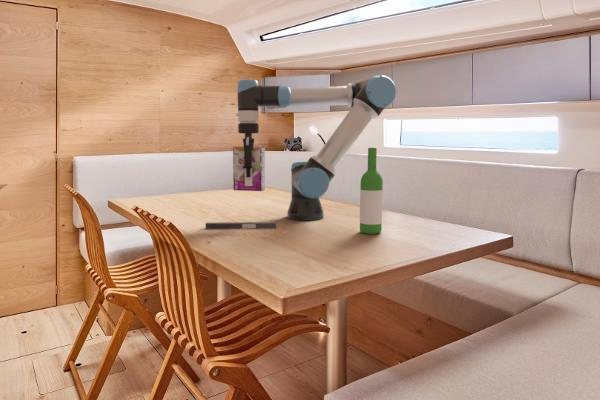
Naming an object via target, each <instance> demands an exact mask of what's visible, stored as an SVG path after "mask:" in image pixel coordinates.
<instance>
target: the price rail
mask: <svg viewBox="0 0 600 400" xmlns="http://www.w3.org/2000/svg"><path fill="white" fill-rule="evenodd" d="M223 229H224V230H225V229H226V230H233V229H235V230H237V229H240V230H243V229H249V230H250V229H251V230H252V229H253V230H254V229H277V222H276V221H254V222H252V221H251V222H250V221H249V222H248V221H247V222H246V221H240V222H239V221H238V222H236V221H235V222H233V221H231V222H228V221H227V222H220V221H219V222H218V221H217V222H205V230H223Z"/></svg>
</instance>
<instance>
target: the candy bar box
mask: <svg viewBox="0 0 600 400" xmlns="http://www.w3.org/2000/svg"><path fill="white" fill-rule="evenodd" d="M232 148H233V150H232V157H233V158H232V160H233V161H232V162H233V163H232V164H233V165H232V166H233V167H232V170H233V171H232V173H233V177H232V178H233V191H244V192H245V191H246V192H247V191H248V192H250V191H251V192H263V191H265V190H266V179H265V177H266V175H265V174H266V171H265V170H266V169H265V167H266V166H265V165H266V164H265V163H266V161H265V159H266V157H265V156H266V152H265V151H266V149H265V148H266V147H264V146H254V147H253V149H252V186H245V168H243V166H244V146H233V147H232Z"/></svg>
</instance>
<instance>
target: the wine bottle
mask: <svg viewBox="0 0 600 400" xmlns="http://www.w3.org/2000/svg"><path fill="white" fill-rule="evenodd" d="M377 154H378V153H377V147H368V148H367V170H366V171H365V172H364V173H363V175H362V176H361V179H360V189H359V192H360V194H359V195H360V197H359V198H360V199H359V231H360V232H361V233H362V234H365V233H366V234H367V235H377V233H378V234H380V233H381V232H382V227H383V226H382V225H383V224H382V222H383V221H382V219H383V184H384V183H383V177H382V175H381V174H380V173H379V172H378V171H377Z"/></svg>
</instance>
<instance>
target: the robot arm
mask: <svg viewBox="0 0 600 400" xmlns="http://www.w3.org/2000/svg"><path fill="white" fill-rule="evenodd" d="M396 95H397V86H396V85H395V83H394V81H393V80H392V79H391V78H390V77H389V76H386V75H375V76H372V77H370V78H368V79H365V80H362V81H358V82H353V83H352V82H349V83H347V84H346V85H339V86H336V85H335V86H311V87H310V86H309V87H290V86H287V85H259V82H258V80H257V79H247V78H245V79H239V80H238V82H237V110H238V111H237V112H238V113H236V115H235V116H236V117H238V118H237V121H238V122H239V123H238V124H237V125H238V126H237V128H238V129H237V130H238V133H239V134H244V138H242V143H243V147H244V166H243V168H245V186H252V149H253V147H255V146H254V145H255V138H253V134H259V126H260V124H259V123H258V122H259V119H260V118H259V116H260V115H259V107H266V108H267V109H271V110H273V109H283V108H300V107H301V108H302V107H303V108H305V107H308V108H309V107H325V106H326V107H329V106H346V107H347V108H351V109H350V110H349V111H348V112H347V114H346V115H345V117H344V118H343V119H342V121H341V122H340V124H339V125H338V126H337V128H336V129H335V130H334V132H333V133H332V134H331V136H330V137H329V138H328V140H327V141H326V142H325V143H324V145H323V147H322V148H321V149H320V150H319V152H318V153H317V155H315V156H314V155H313V156H310V157H309V159H308V160H307V161H297V162H292V164H291V167H290V168H291V169H290V171H291V172H290V173H291V200H290V202H289V207H288V208H287V212H286V214H287V218H288V219H289V220H294V221H317V220H322V219H324V215H325V214H324V210H323V206H322V203H321V200H320V197H322V196H324V195H325V194H326V193H327V191H328V190H329V186H330V182H331V181H332V180H333V179H334V177H335V176H336V172H335V169H336V168H337V166H338V165H339V163H341V161H342V159H343V158H344V157H345V156H346V155H347V153H348V152H349V150H350V149H351V148H352V146H353V145H354V144H355V142H356V141H357V139H359V136H360V135H361V134H362V133H363V131H364V130H365V129H366V127H367V126H368V125H369V124H370V122H371V121H372V119H377V118H379V117H380V115H381V113H383V111H384V110H385V109H386V108H387V107H388V106H390V105H391V104H393V102H394V101H395V99H396V97H397V96H396Z"/></svg>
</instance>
